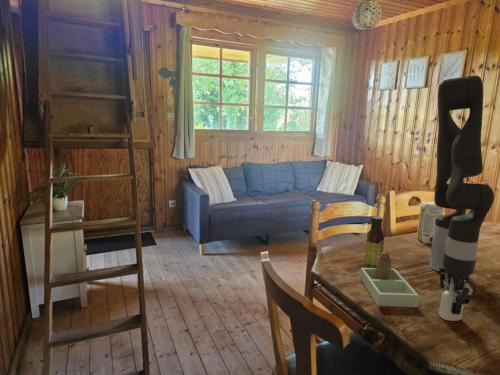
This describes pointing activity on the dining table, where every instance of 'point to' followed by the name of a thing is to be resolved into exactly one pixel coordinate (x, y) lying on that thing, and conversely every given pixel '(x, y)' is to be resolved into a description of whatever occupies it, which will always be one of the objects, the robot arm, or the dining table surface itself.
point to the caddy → (388, 284)
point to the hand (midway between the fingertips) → (451, 309)
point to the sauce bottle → (374, 242)
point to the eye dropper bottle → (449, 306)
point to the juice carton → (428, 221)
